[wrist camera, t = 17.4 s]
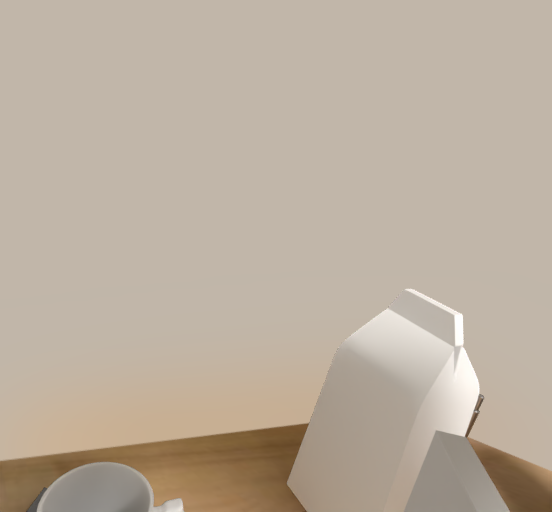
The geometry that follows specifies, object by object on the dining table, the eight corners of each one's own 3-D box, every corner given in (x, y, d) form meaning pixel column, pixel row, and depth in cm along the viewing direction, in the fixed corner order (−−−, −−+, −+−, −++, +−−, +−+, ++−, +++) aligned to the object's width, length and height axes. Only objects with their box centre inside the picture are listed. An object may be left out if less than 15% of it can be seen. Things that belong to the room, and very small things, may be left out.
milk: (286, 483, 48) (348, 277, 41) (355, 458, 55) (418, 277, 48) (358, 581, 39) (453, 336, 32) (430, 536, 46) (520, 326, 39)
